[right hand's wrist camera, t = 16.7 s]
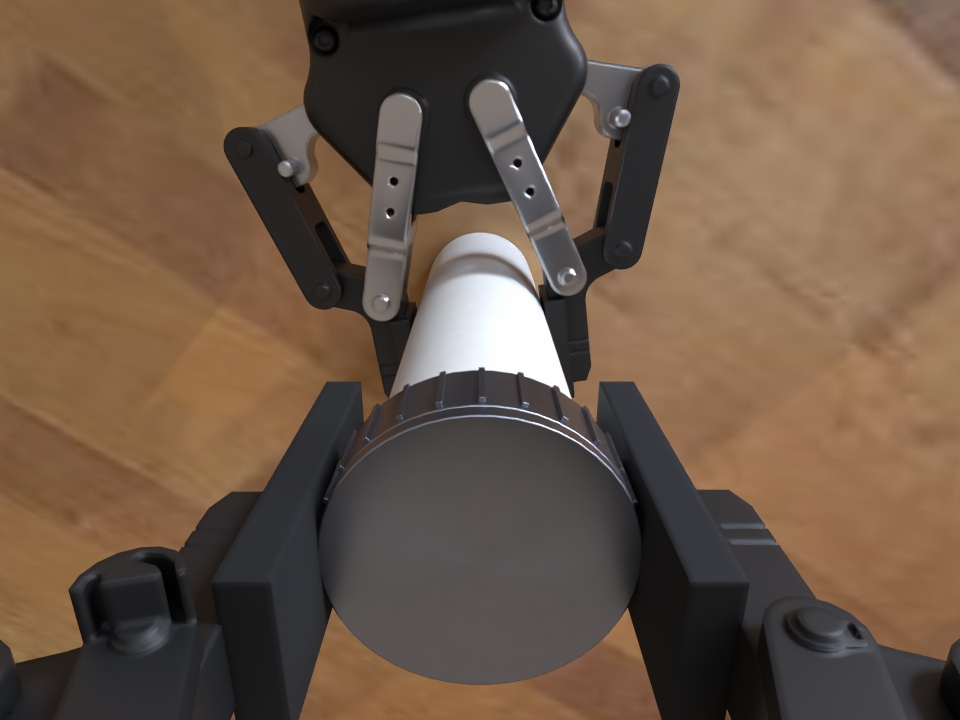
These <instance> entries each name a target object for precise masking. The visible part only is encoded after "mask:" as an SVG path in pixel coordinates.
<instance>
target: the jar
mask: <svg viewBox="0 0 960 720" xmlns="http://www.w3.org/2000/svg"><path fill="white" fill-rule="evenodd" d="M479 367H485V370H492V371H500V372H507V373H513V374H517V373H518V372H522V373H524V376H525V377H528V378H532V379H534V380H537V381H539V382H542V383H544V384H547V385H549V386H551V387H553V386H554V385H556V386H558V387H559V388H560V392H561V393H563V394H565V395H566V396H568V397H569V398H570V399H572V398H571V395H570V392H569V389H568V386H567V383H566V380H565V377H564V374H563V371H562V368H561V365H560V362H559V358H558V355H557V352H556V349H555V346H554V343H553V340H552V337H551V334H550V331H549V328H548V325H547V322H546V318H545V315H544V312H543V309H542V306H541V303H540V300H539V297H538V294H537V291H536V288H535V285H534V282H533V278H532V275H531V272H530V269H529V266H528V264H527V261H526V260H525V258H524V256H523V255H522V253H521V252H520V251H519V249H518V248H517V247H516V246H515V245H513V244H512V243H511V242H509V241H508V240H506V239H504V238H502V237H500V236H498V235H494V234H490V233H470V234H466V235H463V236H460V237H458V238H456V239H454V240H453V241H451V242H450V243H448V244H447V245H446V246H445V247H444V248H443V249H442V250H441V251H440V253H439V254H438V255H437V257H436V259H435V260H434V262H433V265H432V268H431V271H430V274H429V277H428V280H427V283H426V286H425V289H424V292H423V295H422V298H421V301H420V305H419V308H418V311H417V314H416V317H415V320H414V323H413V326H412V329H411V332H410V335H409V338H408V341H407V344H406V348H405V351H404V354H403V357H402V360H401V363H400V366H399V369H398V372H397V375H396V378H395V381H394V384H393V387H392V391H391V394H390V397H389V399H390V398H391V397H393V396H394V395H396V394H397V393H399V392H400V391H402V390H403V387H404V385H406V384H408V383H409V384H410V386H412V385H414V384H416V383H418V382H421V381H424V380H426V379H429V378H432V377H435V376H439V374H440V372H442V371H446V374H448V373H452V372H461V371H470V370H479Z"/></svg>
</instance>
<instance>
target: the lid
mask: <svg viewBox="0 0 960 720" xmlns="http://www.w3.org/2000/svg"><path fill="white" fill-rule="evenodd" d="M322 503H323V504H326V507H325V509H324V512H323V514H322V518H321V522H320V527H319V531H318V553H319V562H320V571H321V579H322V583H323V587H324V589H325V592H326V594H327V596H328V599H329V601H330V603H331V605H332V606H333V608H334V610H335V611H336V613H337V615H338V616H339V618H340V619H341V620H342V622H343V623H344V624H345V625H346V627H347V628H348V629H349V630H350V632H351V633H352V634H353V635H355V636H356V637H357V638H358V639H359V640H360V641H361V642H362V643H363V644H364V645H365V646H367V647H368V648H369V649H371V650H372V651H373V652H375V653H376V654H377V655H379V656H380V657H382V658H384V659H386V660H387V661H389V662H391V663H393V664H394V665H396V666H399V667H401V668H403V669H405V670H408V671H410V672H412V673H415V674H418V675H421V676H425V677H428V678H431V679H436V680H440V681H445V682H451V683H460V684H471V685H490V684H501V683H510V682H515V681H520V680H525V679H529V678H532V677H536V676H539V675H542V674H545V673H548V672H550V671H553V670H555V669H557V668H560V667H562V666H564V665H566V664H568V663H570V662H571V661H573V660H575V659H577V658H579V657H580V656H581V655H583V654H584V653H586V652H587V651H588V650H590V649H591V648H593V647H594V646H595V645H596V644H597V643H598V642H600V641H601V640H602V639H603V638H604V637H605V636H606V635H607V634H608V633H609V632H610V631H611V629H612V628H613V627H614V626H615V625H616V624H617V622H618V621H619V620H620V618H621V617H622V615H623V614H624V612H625V611H626V609H627V607H628V606H629V604H630V602H631V599H632V597H633V595H634V593H635V591H636V588H637V584H638V581H639V575H640V566H641V557H642V546H643V535H642V530H641V525H640V520H639V516H638V514H637V511H636V508H635V507H637V506H639V504H638V501H637V498H636V496H635V493H634V491H633V489H632V486H631V484H630V481H629V479H628V476H627V474H626V471H625V469H624V467H623V464H622V462H621V461H620V458H619V456H618V454H617V451H616V449H615V446H614V444H613V441H612V439H611V436H610V435H609V433H608V432H606V433H603V431H602V430H601V429H600V427H599V426H598V425H597V423H596V422H595V421H594V419H593V418H592V416H591V414H590V411H589V409H588V408H587V407H586V406H584V407H581V406H580V405H578V404H577V403H576V402H574V401H573V400H572V399H570V398H569V397H568V396H566V395H565V394H563V393H561V392H560V388H559V387H558V386H556V385H554V386H553V387H551V386H549V385H547V384H544V383H542V382H539V381H537V380H534V379H532V378H528V377H525V376H524V373H522V372H518V373H517V374H513V373H507V372H500V371H492V370H485V367H479V370H470V371H461V372H452V373H448V374H446V371H442V372H440V374H439V376H435V377H432V378H429V379H426V380H424V381H421V382H418V383H416V384H414V385H412V386H410V384H409V383H408V384H406V385H404V387H403V390H402V391H400V392H399V393H397V394H396V395H394V396H393V397H391V398H390V399H389V400H387V401H386V402H384V403H383V404H382V405H381V406H380V405H379V404H376V405H375V406H374V408H373V410H372V413H371V415H370V416H369V418H368V419H367V420H366V421H365V423H364V424H363V425H362V426H361V428H360V429H359V430H358V431H356V430H353V432H352V434H351V436H350V438H349V441H348V443H347V446H346V448H345V451H344V453H343V456H342V458H341V460H339V462H338V464H337V467H336V469H335V472H334V474H333V477H332V479H331V481H330V484H329V486H328V489H327V491H326V494H325V496H324V499H323V502H322Z"/></svg>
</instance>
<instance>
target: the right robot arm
mask: <svg viewBox="0 0 960 720" xmlns="http://www.w3.org/2000/svg"><path fill="white" fill-rule="evenodd" d="M363 424H364V418H363V404H362V390H361V382H326V384H325V386H324V387H323V389H322V391H321V393H320V394H319V396H318V398H317V400H316V401H315V403H314V405H313V406H312V408H311V410H310V412H309V413H308V415H307V417H306V418H305V420H304V422H303V424H302V425H301V427H300V429H299V431H298V432H297V434H296V436H295V437H294V439H293V441H292V443H291V444H290V446H289V448H288V449H287V451H286V453H285V455H284V456H283V458H282V460H281V461H280V463H279V465H278V467H277V468H276V470H275V472H274V474H273V475H272V477H271V479H270V480H269V482H268V484H267V486H266V487H265V489H264V491H263V492H231V493H230V494H228V495H227V496H225V497H224V498H223V499H221V500H220V501H218V502H217V503H216V504H214V505H213V506H211V507H210V508H209V509H208V510H207V512H206V513H205V515H204V516H203V518H202V519H201V520H200V522H199V523H198V525H197V526H196V531H193V532H192V533H191V535H190V536H189V538H188V539H187V541H186V542H185V547H182V548H181V549H180V551H179V552H177V551H176V550H172V549H168V548H164V547H140V548H136V549H132V550H128V551H124V552H120V553H117V554H115V555H113V556H111V557H108V558H106V559H104V560H102V561H100V562H97V563H96V564H95V565H93V566H92V567H90V568H89V569H88V570H86V571H85V572H84V573H82V574H81V575H79V577H78V578H77V579H76V581H75V582H74V583H73V584H72V586H71V587H70V588H69V594H70V597H71V601H72V605H73V608H74V612H75V615H76V619H77V622H78V626H79V629H80V633H81V637H82V640H83V646H82V647H80V648H77V649H73V650H70V651H67V652H63V653H59V654H54V655H50V656H46V657H41V658H37V659H33V660H28V661H24V662H20V663H16V664H15V662H14V659H13V656H12V653H11V650H10V648H9V647H8V646H7V645H6V644H5V643H3V642H2V641H1V640H0V720H230V719H231V717H232V714H233V712H234V714H235V720H299V717H300V714H301V710H302V707H303V704H304V700H305V697H306V694H307V690H308V687H309V684H310V680H311V677H312V674H313V670H314V667H315V664H316V660H317V657H318V654H319V651H320V647H321V644H322V641H323V637H324V634H325V631H326V627H327V624H328V621H329V617H330V614H331V611H332V607H333V606H332V605H331V603H330V601H329V599H328V596H327V594H326V592H325V589H324V587H323V583H322V579H321V571H320V562H319V553H318V531H319V527H320V522H321V518H322V514H323V512H324V509H325V507H326V504H323V503H322V502H323V499H324V496H325V494H326V491H327V489H328V486H329V484H330V481H331V479H332V477H333V474H334V472H335V469H336V467H337V464H338V462H339V460H341V458H342V456H343V453H344V451H345V448H346V446H347V443H348V441H349V438H350V436H351V434H352V432H353V430H356V431H358V430H359V429H360V428H361V426H362V425H363ZM597 425H598V426H599V427H600V429H601V430H602V431H603V433H606V432H608V433H609V435H610V436H611V439H612V441H613V444H614V446H615V449H616V451H617V454H618V456H619V458H620V461H621V462H622V464H623V467H624V469H625V471H626V474H627V476H628V479H629V481H630V484H631V486H632V489H633V491H634V493H635V496H636V498H637V501H638V504H639V506H637V507H635V508H636V511H637V514H638V516H639V520H640V525H641V530H642V535H643V546H642V557H641V566H640V575H639V581H638V584H637V588H636V591H635V593H634V595H633V597H632V599H631V602H630V604H629V606H628V609H629V613H630V616H631V619H632V623H633V626H634V629H635V633H636V636H637V639H638V643H639V646H640V649H641V653H642V656H643V659H644V663H645V666H646V669H647V673H648V676H649V679H650V682H651V686H652V689H653V692H654V696H655V699H656V702H657V706H658V709H659V712H660V716H661V719H662V720H725V716H726V711H727V710H728V713H729V715H730V718H731V720H960V639H958V640H957V641H956V642H955V643H954V644H953V645H952V646H951V648H950V651H949V654H948V657H947V660H946V661H944V660H939V659H935V658H931V657H926V656H922V655H918V654H913V653H909V652H905V651H900V650H896V649H893V648H889V647H886V646H883V645H879V644H877V642H876V641H875V639H874V638H873V636H872V635H871V633H870V632H869V630H868V629H867V627H866V626H865V625H863V624H862V623H861V622H860V621H859V620H857V619H856V618H855V617H854V616H852V615H851V614H850V613H848V612H846V611H844V610H842V609H840V608H838V607H836V606H835V605H833V604H831V603H828V602H824V601H821V600H817V599H816V597H815V596H814V594H813V593H812V592H811V590H810V589H809V587H808V586H807V584H806V583H805V582H804V580H803V579H802V577H801V576H800V574H799V573H798V572H797V570H796V569H795V567H794V566H793V564H792V563H791V562H790V560H789V559H788V557H787V556H786V554H785V553H784V552H783V550H782V549H781V547H780V546H779V545H776V540H775V539H774V537H773V536H772V534H771V533H770V532H769V530H768V529H765V524H764V523H763V522H762V520H761V519H760V517H759V516H758V514H757V513H756V512H755V510H754V509H753V507H752V506H751V505H749V504H748V503H747V502H745V501H744V500H742V499H741V498H740V497H738V496H737V495H735V494H734V493H733V492H731V491H730V490H696V488H695V487H694V485H693V483H692V481H691V480H690V478H689V476H688V475H687V473H686V471H685V469H684V468H683V466H682V464H681V463H680V461H679V459H678V457H677V456H676V454H675V452H674V450H673V449H672V447H671V445H670V444H669V442H668V440H667V438H666V437H665V435H664V433H663V432H662V430H661V428H660V426H659V425H658V423H657V421H656V420H655V418H654V416H653V414H652V413H651V411H650V409H649V407H648V406H647V404H646V402H645V401H644V399H643V397H642V395H641V394H640V392H639V390H638V389H637V387H636V385H635V383H634V382H599V395H598V409H597Z"/></svg>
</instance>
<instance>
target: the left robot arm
mask: <svg viewBox="0 0 960 720" xmlns="http://www.w3.org/2000/svg"><path fill="white" fill-rule="evenodd" d="M299 2H300V7H301V11H302V16H303V21H304V25H305V30H306V35H307V39H308V44H309V50H310V68H309V75H308V79H307V82H306V86H305V89H304V104H302V105H300V106H298V107H296V108H294V109H293V110H291V111H289V112H287V113H285V114H283V115H281V116H279V117H277V118H275V119H273V120H271V121H269V122H267V123H265V124H263V125H261V126H259V127H238V128H235V129H233V130H231V131H230V132H229V133H228V134H227V135H226V137H225V140H224V152H225V155H226V157H227V159H228V160H229V162H230V164H231V166H232V168H233V169H234V171H235V173H236V175H237V177H238V178H239V180H240V182H241V184H242V186H243V187H244V189H245V191H246V193H247V194H248V196H249V198H250V200H251V202H252V203H253V205H254V207H255V209H256V211H257V212H258V214H259V216H260V218H261V219H262V221H263V223H264V225H265V227H266V228H267V230H268V232H269V234H270V236H271V237H272V239H273V241H274V243H275V244H276V246H277V248H278V250H279V252H280V253H281V255H282V257H283V259H284V261H285V262H286V264H287V266H288V268H289V269H290V271H291V273H292V275H293V277H294V278H295V280H296V282H297V284H298V286H299V287H300V289H301V291H302V293H303V295H304V296H305V298H306V300H307V301H308V302H309V303H310V304H311V305H312V306H313V307H315V308H318V309H324V310H325V309H330V308H332V307H337V308H342V309H347V310H351V311H355V312H357V313H359V314H361V315H362V316H363V317H365V319H366V320H367V321H368V323H369V324H370V327H371V330H372V335H373V340H374V345H375V349H376V354H377V359H378V363H379V368H380V373H381V376H382V382H383V387H384V392H385V394H386V395H387V397H388V398H389V397H390V394H391V391H392V387H393V384H394V381H395V378H396V375H397V372H398V369H399V366H400V363H401V360H402V357H403V354H404V351H405V348H406V344H407V341H408V338H409V335H410V332H411V329H412V326H413V323H414V320H415V317H416V314H417V307H416V302H410V303H409V300H408V295H407V288H408V281H409V274H410V266H411V259H412V251H413V244H414V239H415V234H416V229H417V222H418V215H419V214H425V213H432V212H437V211H440V210H442V209H444V208H447V207H449V206H451V205H453V204H456V203H458V202H471V203H479V204H494V203H501V202H508V201H512V202H513V204H514V207H515V209H516V211H517V213H518V215H519V218H520V220H521V222H522V224H523V226H524V228H525V231H526V233H527V235H528V237H529V239H530V241H531V243H532V246H533V248H534V250H535V252H536V254H537V257H538V259H539V261H540V263H541V265H542V271H543V280H544V285H538V288H539V297H540V303H541V306H542V309H543V312H544V315H545V318H546V322H547V325H548V328H549V331H550V334H551V337H552V340H553V343H554V346H555V349H556V352H557V355H558V358H559V362H560V365H561V368H562V371H563V374H564V377H565V380H566V383H567V386H568V389H569V392H570V395H571V398H574V386H573V382H576V381H584V380H587V377H588V374H589V371H590V368H591V360H590V350H589V349H590V348H589V339H588V338H589V337H588V325H587V314H586V302H585V297H586V292H587V289H588V287H589V286H590V284H591V283H592V282H593V281H594V280H595V279H597V278H598V277H600V276H602V275H604V274H606V273H608V272H610V271H612V270H614V269H627V268H630V267H632V266H633V265H635V264H636V263H637V262H638V260H639V259H640V257H641V254H642V250H643V245H644V241H645V237H646V232H647V228H648V224H649V219H650V215H651V210H652V206H653V202H654V197H655V193H656V189H657V184H658V180H659V176H660V171H661V167H662V163H663V158H664V154H665V149H666V145H667V141H668V136H669V132H670V128H671V123H672V119H673V115H674V110H675V106H676V101H677V97H678V93H679V88H680V81H679V77H678V75H677V73H676V71H675V70H674V69H673V68H672V67H670V66H668V65H666V64H656V65H649V66H646V67H642V68H637V67H631V66H624V65H618V64H611V63H605V62H598V61H592V60H587V58H586V54H585V52H584V49H583V47H582V45H581V44H580V42H579V41H578V39H577V38H576V36H575V35H574V33H573V31H572V29H571V27H570V24H569V22H568V19H567V15H566V11H565V5H564V0H299ZM580 95H583V96H585V97H586V98H587V99H588V100H589V101H590V102H591V103H592V106H593V108H594V124H595V127H596V130H597V131H598V133H600V134H601V135H602V136H603V137H606V138H610V139H611V140H610V145H609V150H608V155H607V160H606V165H605V170H604V175H603V180H602V185H601V190H600V195H599V200H598V205H597V210H596V215H595V220H594V225H593V229H591V230H590V231H588V232H586V233H584V234H582V235H580V236H578V237H576V238H574V239H572V237H571V235H570V232H569V230H568V228H567V225H566V223H565V220H564V217H563V214H562V212H561V209H560V207H559V205H558V202H557V200H556V198H555V195H554V193H553V191H552V188H551V186H550V184H549V182H548V179H547V177H546V175H545V172H544V170H543V168H542V165H543V163H544V161H545V159H546V157H547V156H548V154H549V152H550V150H551V148H552V146H553V145H554V143H555V141H556V139H557V137H558V135H559V133H560V132H561V130H562V128H563V126H564V124H565V122H566V120H567V119H568V117H569V115H570V113H571V111H572V109H573V108H574V106H575V104H576V102H577V100H578V98H579V96H580ZM320 135H321V136H322V137H323V138H324V139H325V140H326V141H327V142H328V143H329V144H330V145H331V146H332V147H333V148H334V149H335V150H336V151H337V152H338V153H339V154H340V155H341V156H342V157H343V158H344V159H345V160H346V161H347V162H348V163H349V164H350V165H351V166H352V167H353V168H354V169H355V170H356V171H357V172H358V173H359V174H360V175H361V176H362V177H363V178H364V179H365V180H366V181H367V182H368V184H369V185H370V186H371V187H372V198H371V207H370V216H369V225H368V234H367V247H368V256H367V265H366V267H364V266H360V265H355V264H351V263H350V261H349V259H348V257H347V255H346V253H345V251H344V250H343V248H342V246H341V244H340V242H339V240H338V238H337V236H336V234H335V232H334V230H333V229H332V227H331V225H330V223H329V221H328V219H327V217H326V215H325V213H324V211H323V209H322V208H321V206H320V204H319V202H318V200H317V198H316V196H315V194H314V192H313V190H312V188H311V187H310V185H309V182H311V181H312V180H313V179H314V178H315V176H316V175H317V171H318V163H317V160H316V157H315V153H314V147H315V143H316V141H317V139H318V138H319V136H320Z"/></svg>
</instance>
